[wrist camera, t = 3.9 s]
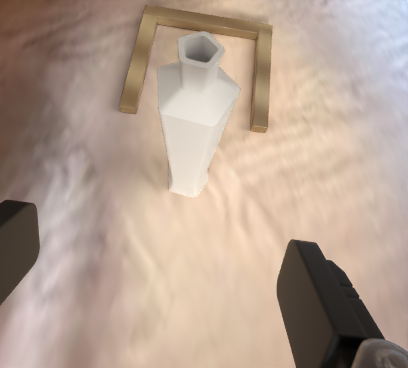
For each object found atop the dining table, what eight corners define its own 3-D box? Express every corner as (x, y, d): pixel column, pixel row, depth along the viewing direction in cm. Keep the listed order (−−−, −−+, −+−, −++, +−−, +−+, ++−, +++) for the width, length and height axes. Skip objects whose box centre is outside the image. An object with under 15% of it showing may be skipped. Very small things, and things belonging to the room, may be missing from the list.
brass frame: (265, 133, 30) (268, 127, 29) (120, 111, 30) (118, 105, 29) (269, 32, 35) (272, 24, 34) (146, 12, 35) (145, 4, 34)
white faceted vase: (179, 145, 29) (183, -4, 15) (219, 169, 28) (262, 38, 14) (150, 183, 27) (124, 56, 13) (192, 209, 27) (211, 106, 13)
